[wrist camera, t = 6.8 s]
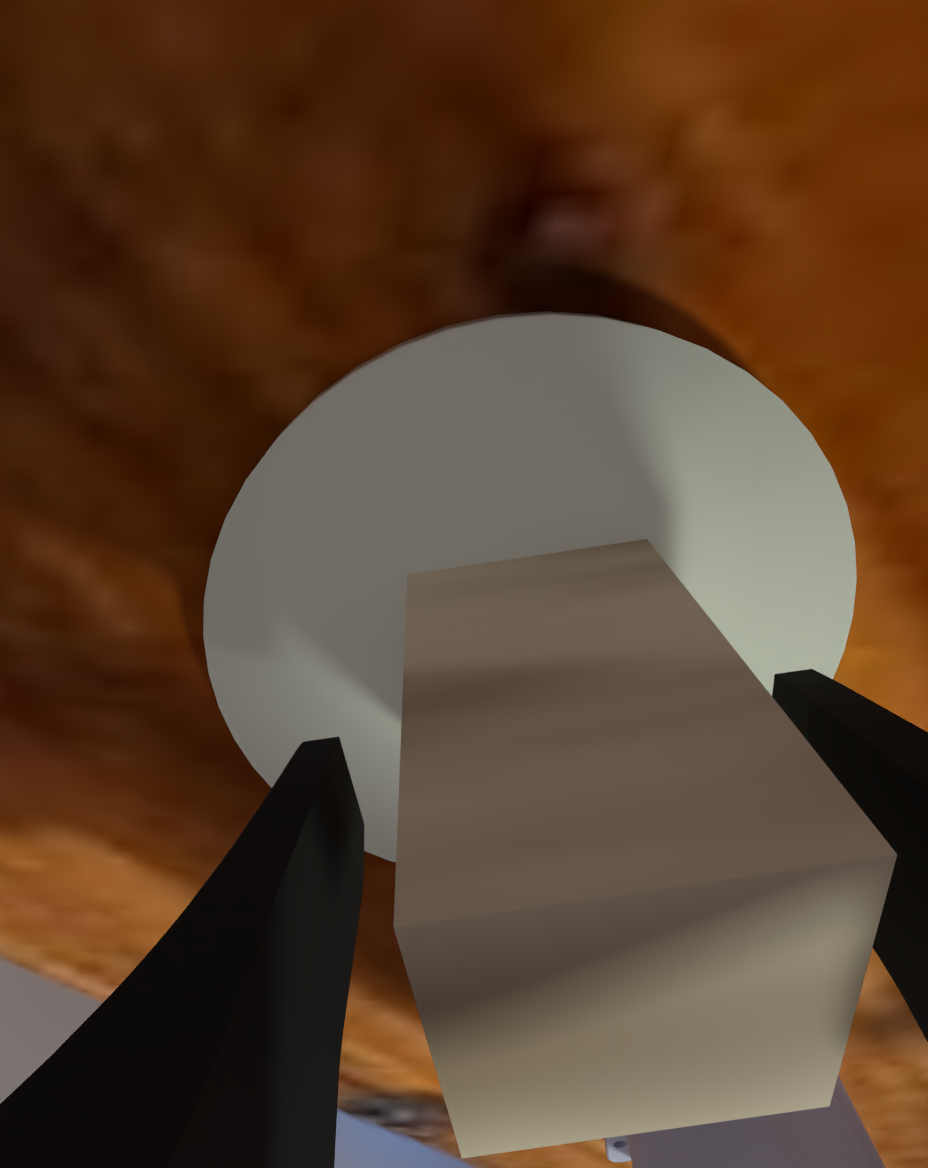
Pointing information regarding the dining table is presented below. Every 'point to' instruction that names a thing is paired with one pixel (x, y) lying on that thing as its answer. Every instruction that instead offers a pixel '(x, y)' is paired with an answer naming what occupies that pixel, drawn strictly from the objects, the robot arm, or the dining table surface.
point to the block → (616, 860)
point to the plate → (509, 519)
